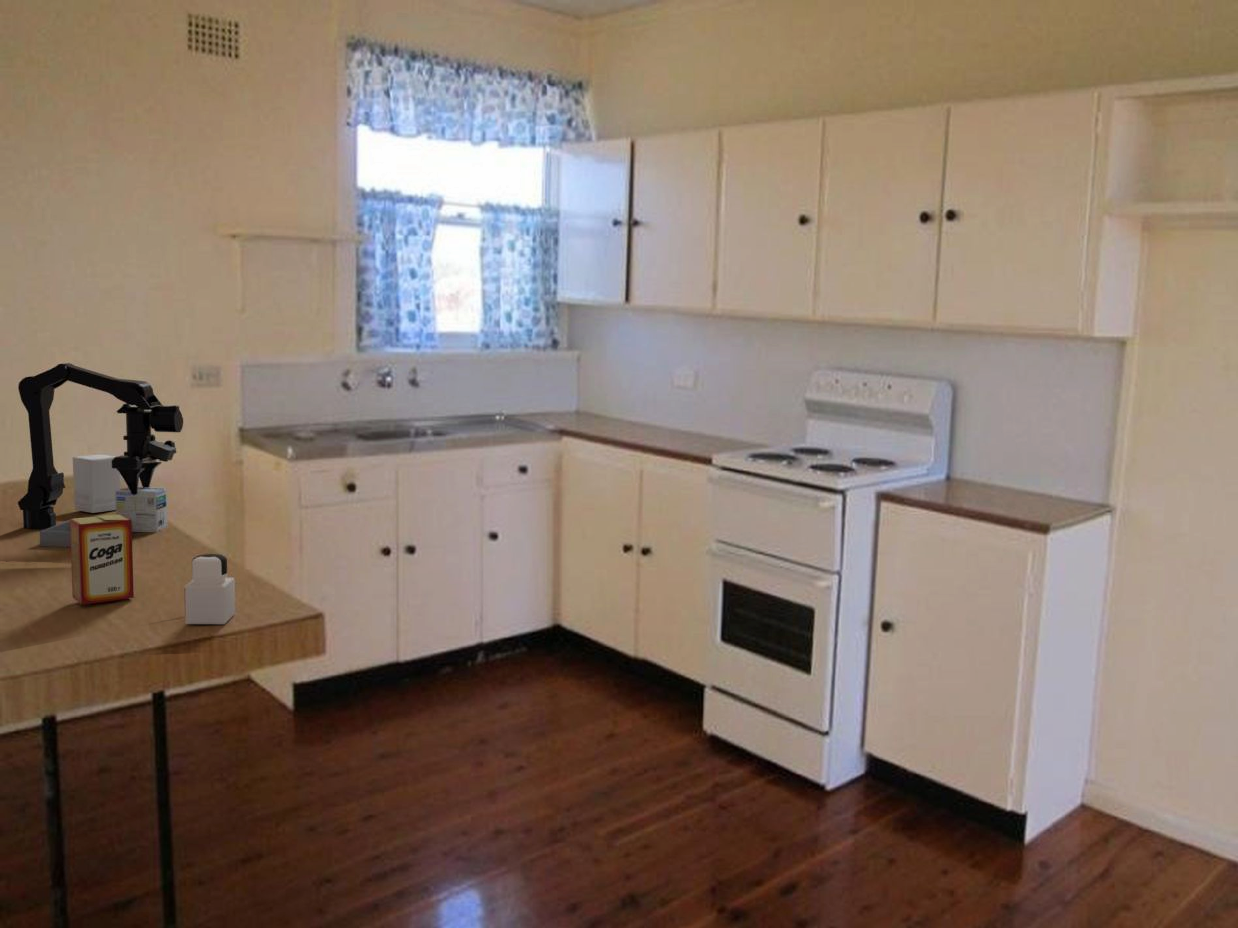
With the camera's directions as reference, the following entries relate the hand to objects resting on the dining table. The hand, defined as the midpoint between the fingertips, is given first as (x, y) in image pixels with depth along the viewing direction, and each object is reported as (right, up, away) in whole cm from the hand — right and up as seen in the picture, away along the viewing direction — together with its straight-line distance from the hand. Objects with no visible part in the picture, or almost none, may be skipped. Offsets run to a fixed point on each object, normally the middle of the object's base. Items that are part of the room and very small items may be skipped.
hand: (140, 492), depth 275 cm
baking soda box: (+21, -19, -63) cm, 69 cm away
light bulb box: (0, -10, +1) cm, 10 cm away
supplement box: (-24, -6, +27) cm, 36 cm away
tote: (-7, -11, -13) cm, 18 cm away
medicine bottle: (+46, -22, -75) cm, 91 cm away
